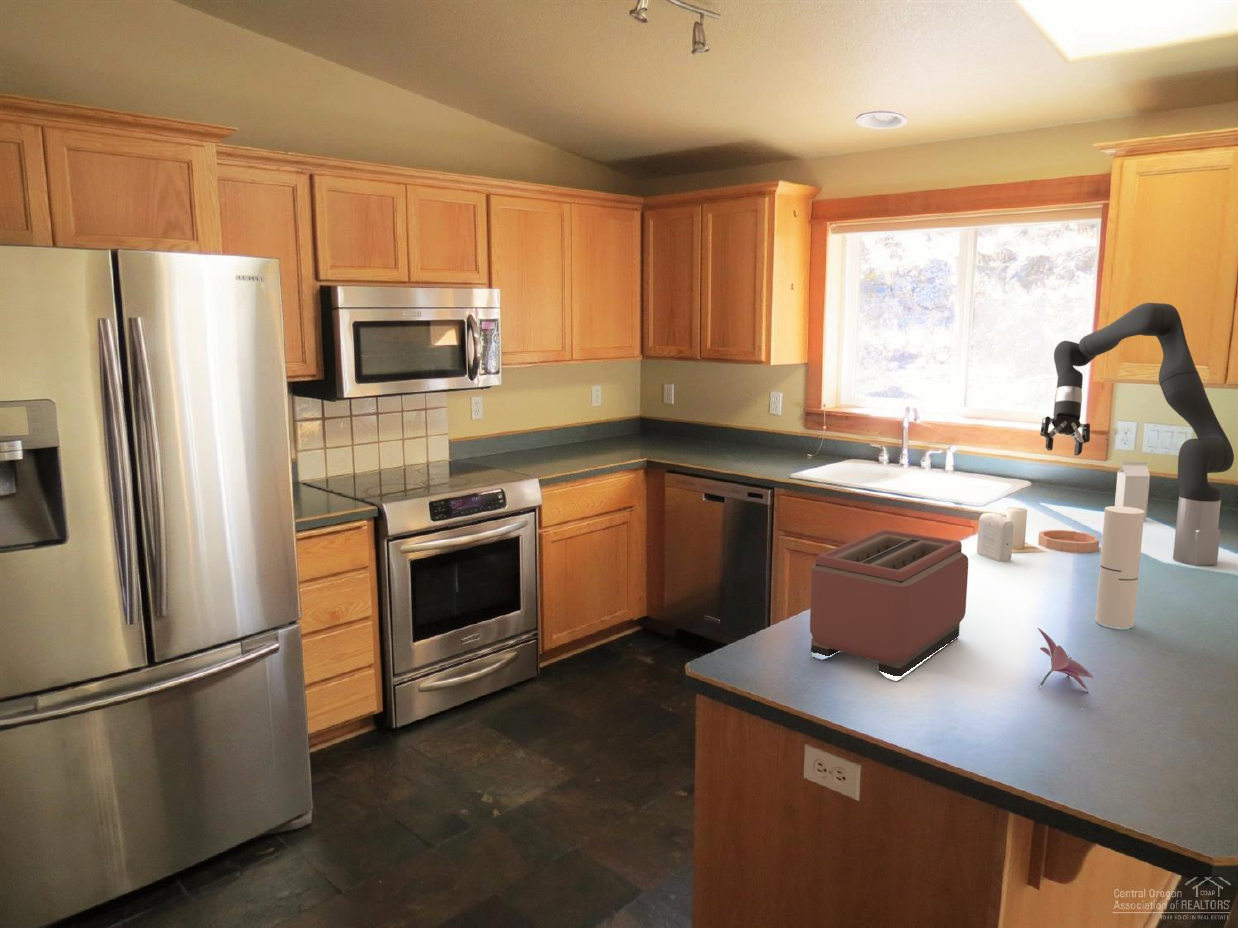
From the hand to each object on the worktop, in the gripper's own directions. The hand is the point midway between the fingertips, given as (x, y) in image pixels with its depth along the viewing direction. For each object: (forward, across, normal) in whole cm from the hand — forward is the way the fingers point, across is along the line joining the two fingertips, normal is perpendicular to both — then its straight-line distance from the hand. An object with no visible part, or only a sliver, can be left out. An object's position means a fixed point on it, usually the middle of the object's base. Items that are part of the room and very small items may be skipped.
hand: (1063, 452), depth 263 cm
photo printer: (+40, -29, -26) cm, 56 cm away
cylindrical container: (+57, -22, -75) cm, 96 cm away
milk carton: (+14, +31, +16) cm, 38 cm away
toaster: (+70, -72, -84) cm, 131 cm away
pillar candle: (+35, -19, -16) cm, 43 cm away
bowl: (+32, -4, -15) cm, 35 cm away
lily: (+72, -47, -104) cm, 135 cm away
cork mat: (+35, -19, -16) cm, 43 cm away
